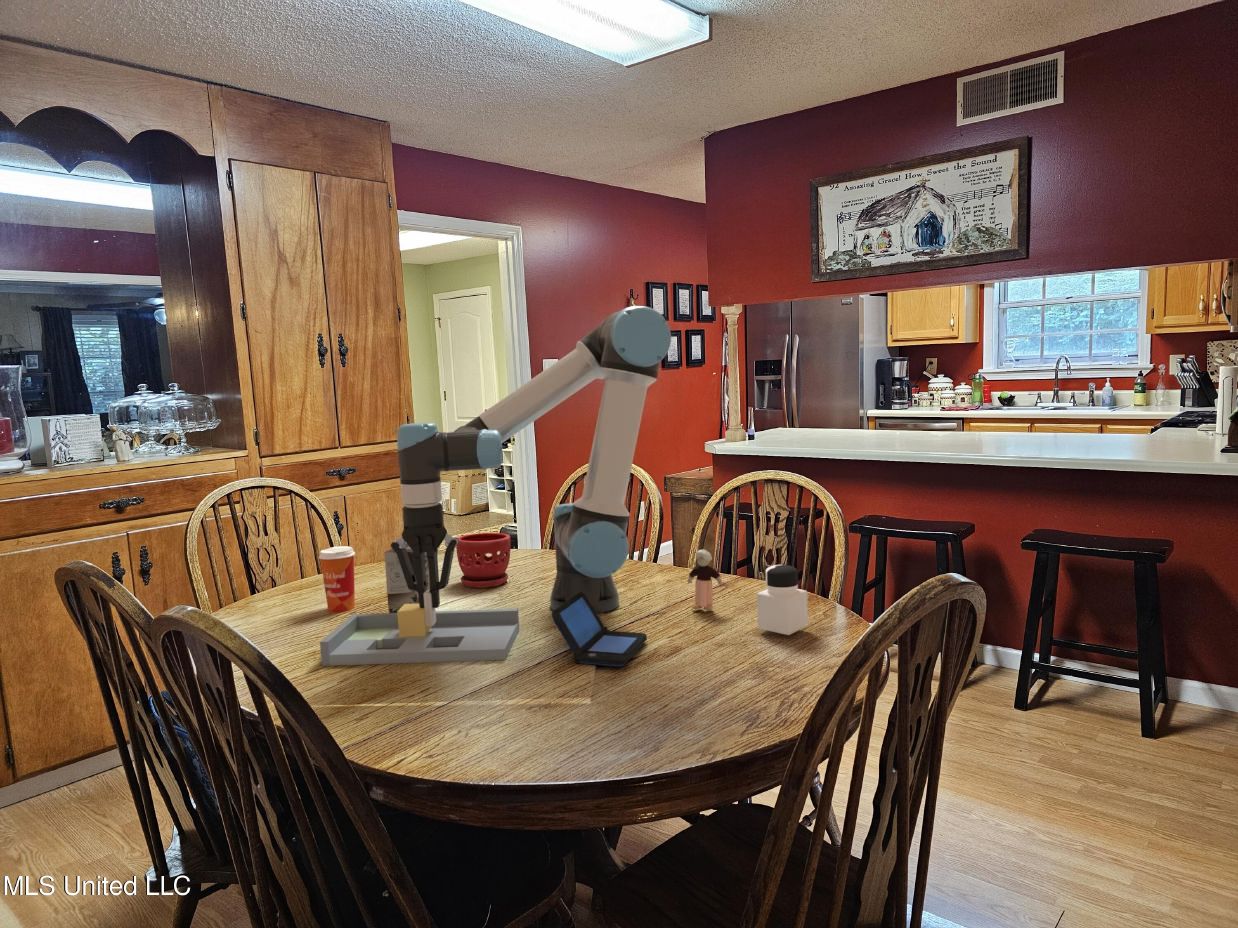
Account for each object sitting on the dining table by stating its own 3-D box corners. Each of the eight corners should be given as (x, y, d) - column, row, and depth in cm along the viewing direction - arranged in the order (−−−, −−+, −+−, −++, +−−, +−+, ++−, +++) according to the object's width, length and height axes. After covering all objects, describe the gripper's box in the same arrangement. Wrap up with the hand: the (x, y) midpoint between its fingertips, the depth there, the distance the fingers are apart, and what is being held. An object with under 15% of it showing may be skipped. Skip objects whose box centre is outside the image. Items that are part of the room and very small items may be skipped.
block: (431, 627, 158) (430, 602, 158) (425, 635, 153) (423, 610, 153) (406, 628, 159) (404, 603, 158) (399, 636, 154) (397, 611, 153)
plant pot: (508, 589, 192) (505, 540, 190) (453, 591, 192) (450, 542, 191) (516, 575, 205) (513, 529, 203) (465, 577, 205) (462, 531, 204)
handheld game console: (623, 669, 138) (620, 617, 137) (551, 663, 142) (548, 613, 141) (648, 639, 153) (646, 592, 151) (583, 635, 157) (580, 589, 156)
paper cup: (316, 614, 178) (310, 552, 177) (340, 604, 185) (334, 545, 184) (344, 616, 175) (338, 554, 174) (367, 606, 182) (362, 546, 181)
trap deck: (519, 630, 161) (518, 608, 160) (505, 659, 144) (503, 635, 144) (354, 635, 162) (352, 614, 161) (322, 665, 145) (319, 641, 145)
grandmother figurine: (686, 610, 169) (683, 551, 167) (688, 605, 173) (686, 547, 171) (722, 611, 167) (720, 551, 166) (724, 605, 171) (722, 547, 169)
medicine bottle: (808, 625, 155) (807, 565, 154) (789, 635, 150) (787, 573, 149) (776, 619, 160) (775, 560, 159) (756, 628, 155) (755, 568, 154)
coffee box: (417, 628, 165) (411, 551, 163) (388, 627, 166) (382, 551, 164) (436, 615, 174) (430, 542, 172) (408, 614, 175) (403, 542, 173)
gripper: (460, 499, 157) (468, 616, 159) (394, 502, 157) (403, 619, 160) (451, 505, 149) (459, 628, 152) (382, 508, 149) (392, 631, 152)
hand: (431, 623), depth 156 cm, fingers closed
